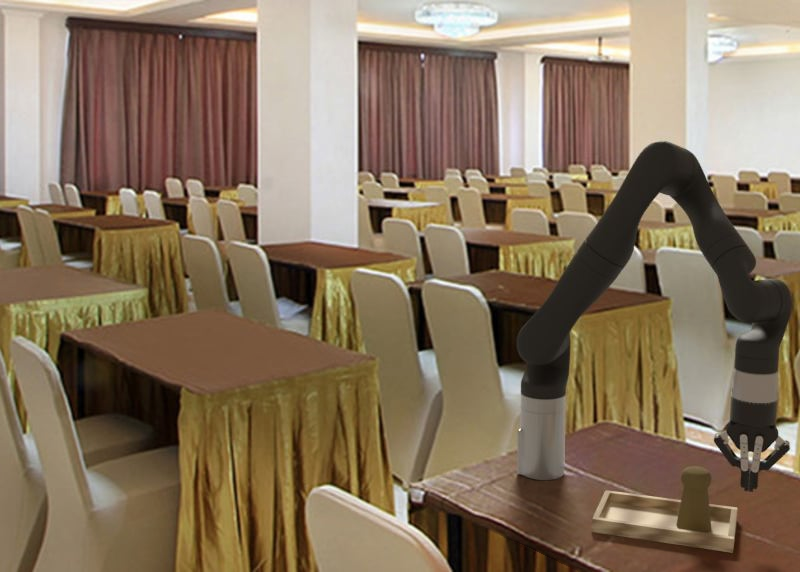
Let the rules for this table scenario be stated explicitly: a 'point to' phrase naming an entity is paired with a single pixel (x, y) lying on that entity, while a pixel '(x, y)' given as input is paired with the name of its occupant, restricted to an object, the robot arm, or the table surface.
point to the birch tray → (661, 521)
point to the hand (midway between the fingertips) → (748, 489)
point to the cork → (695, 500)
